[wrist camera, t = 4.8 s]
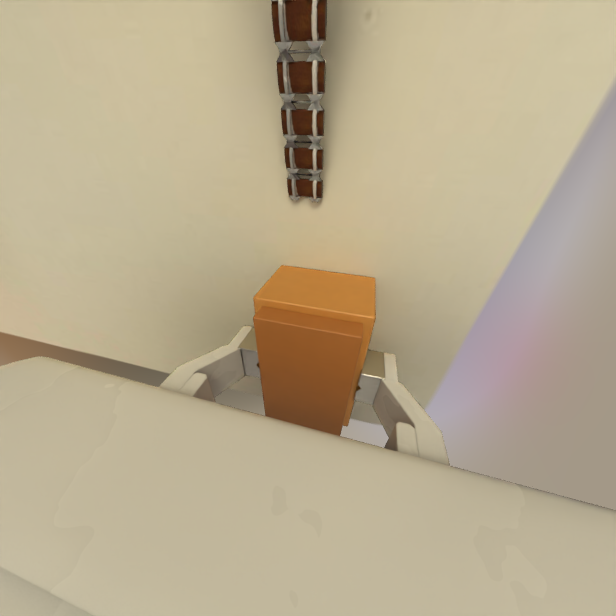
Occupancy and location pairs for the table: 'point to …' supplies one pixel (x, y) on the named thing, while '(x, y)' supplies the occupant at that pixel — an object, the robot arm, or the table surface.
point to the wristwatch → (301, 89)
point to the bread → (313, 344)
